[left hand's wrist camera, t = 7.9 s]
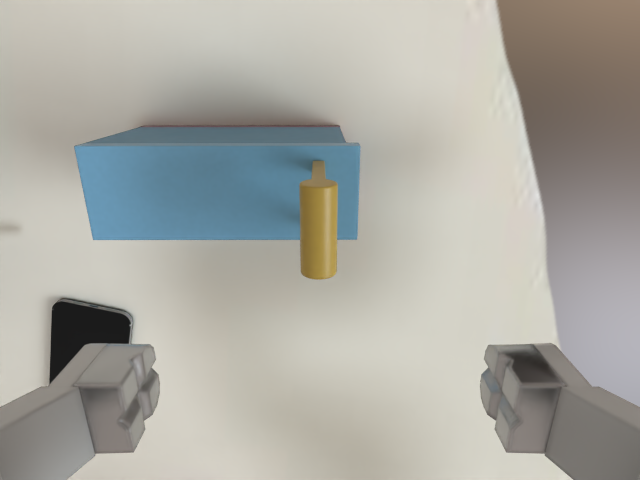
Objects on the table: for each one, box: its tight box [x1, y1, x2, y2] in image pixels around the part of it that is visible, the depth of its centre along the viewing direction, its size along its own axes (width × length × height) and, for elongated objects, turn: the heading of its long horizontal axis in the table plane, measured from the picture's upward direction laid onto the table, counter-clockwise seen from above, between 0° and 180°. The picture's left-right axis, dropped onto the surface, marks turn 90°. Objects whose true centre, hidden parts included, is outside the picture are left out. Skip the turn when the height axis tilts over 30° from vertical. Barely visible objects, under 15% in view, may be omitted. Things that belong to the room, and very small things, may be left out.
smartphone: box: [50, 299, 133, 384], centre depth 42 cm, size 7×1×15 cm
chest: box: [87, 126, 346, 143], centre depth 31 cm, size 16×6×9 cm, turn 90°
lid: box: [74, 143, 360, 279], centre depth 23 cm, size 16×6×8 cm, turn 90°
